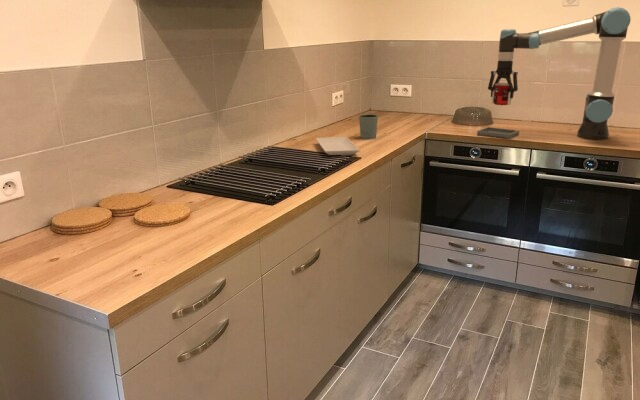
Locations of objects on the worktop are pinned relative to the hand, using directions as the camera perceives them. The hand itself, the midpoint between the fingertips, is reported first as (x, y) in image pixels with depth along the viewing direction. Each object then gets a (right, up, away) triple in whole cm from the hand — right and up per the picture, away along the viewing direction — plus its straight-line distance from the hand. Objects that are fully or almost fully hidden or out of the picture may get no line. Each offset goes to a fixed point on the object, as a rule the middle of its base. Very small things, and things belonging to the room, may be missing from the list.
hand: (501, 103), depth 282 cm
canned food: (0, 0, 0) cm, 0 cm away
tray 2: (0, -16, +5) cm, 17 cm away
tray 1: (-89, -27, -22) cm, 96 cm away
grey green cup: (-71, -18, +3) cm, 74 cm away
